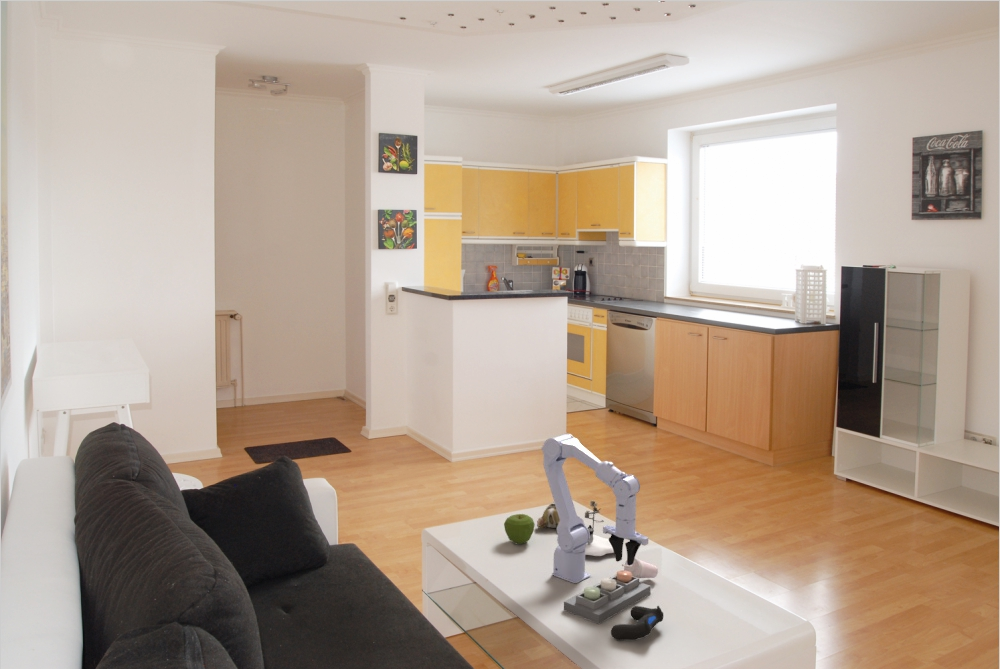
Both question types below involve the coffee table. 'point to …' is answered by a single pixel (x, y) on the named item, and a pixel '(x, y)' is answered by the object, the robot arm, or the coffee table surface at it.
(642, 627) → the gaming controller
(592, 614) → the button panel
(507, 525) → the apple
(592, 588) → the sage button
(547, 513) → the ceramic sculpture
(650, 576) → the smoothie
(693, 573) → the coffee table surface
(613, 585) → the offwhite button
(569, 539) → the robot arm
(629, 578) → the peach button
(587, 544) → the figurine
